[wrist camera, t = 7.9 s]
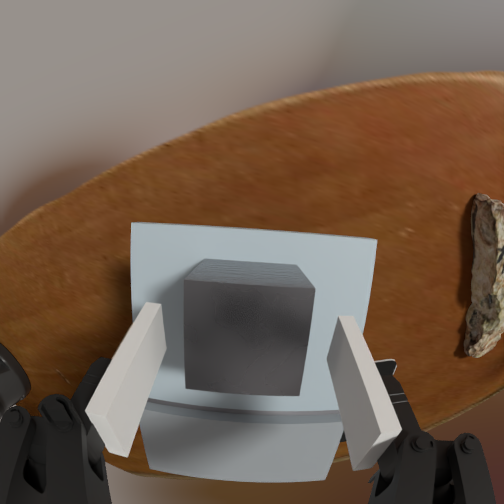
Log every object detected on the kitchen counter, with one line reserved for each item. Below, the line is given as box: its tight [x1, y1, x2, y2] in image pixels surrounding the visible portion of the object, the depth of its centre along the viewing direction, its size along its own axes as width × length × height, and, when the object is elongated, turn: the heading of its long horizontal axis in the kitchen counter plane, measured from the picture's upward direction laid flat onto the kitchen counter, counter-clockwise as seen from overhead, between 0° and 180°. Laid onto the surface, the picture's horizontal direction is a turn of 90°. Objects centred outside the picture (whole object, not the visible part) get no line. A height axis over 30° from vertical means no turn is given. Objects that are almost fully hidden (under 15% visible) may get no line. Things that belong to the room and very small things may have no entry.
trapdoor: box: [131, 222, 377, 482], centre depth 18 cm, size 19×16×4 cm
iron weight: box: [184, 258, 316, 396], centre depth 14 cm, size 5×5×5 cm
